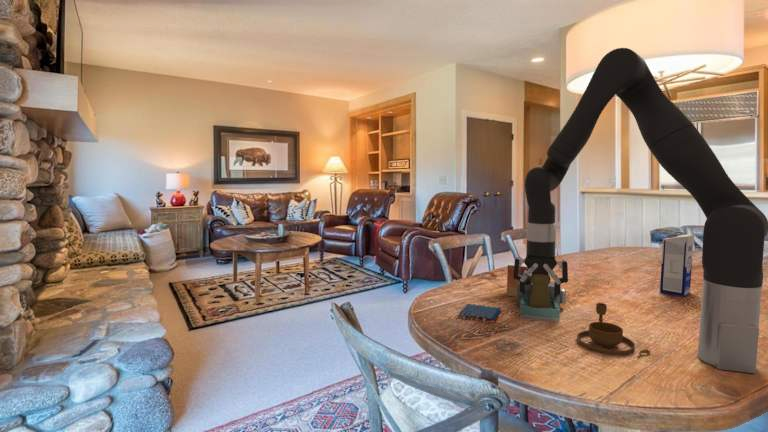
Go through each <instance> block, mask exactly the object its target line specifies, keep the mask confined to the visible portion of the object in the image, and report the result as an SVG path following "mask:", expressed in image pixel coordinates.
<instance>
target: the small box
mask: <svg viewBox="0 0 768 432" xmlns="http://www.w3.org/2000/svg"><path fill="white" fill-rule="evenodd" d="M514 264H515V261H514V262H512V261H510V262H509V263H508V264H507V273H506V274H507V275H506V296H508V297H516V298H517V279H514V278H513V276H514ZM527 268H528V267H527V266H526V264H525V263H522V265H521V266H519V270H518V275H522V274H523V273H524V272H525V270H526V269H527ZM531 274H533V273H531Z"/></svg>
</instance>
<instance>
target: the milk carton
mask: <svg viewBox="0 0 768 432" xmlns="http://www.w3.org/2000/svg"><path fill="white" fill-rule="evenodd" d="M694 237H695V234H693V233H692V234H690V233H689V234H681V235H678V233H675V232H674V233H669V234H666V238H663V239H662V248H661V249H662V251H661V266H660V267H661V268H660V281H659V282H660V285H659V293H662V294H667V295H673V296H678V297H686V296H687V295H689V294H690V293H691V286H692V285H691V284H692V283H691V282H692V281H691V280H692V269H693V267H692V266H693V254H694V241H695V240H694V239H695V238H694Z"/></svg>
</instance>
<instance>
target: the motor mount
mask: <svg viewBox="0 0 768 432" xmlns="http://www.w3.org/2000/svg"><path fill="white" fill-rule="evenodd" d="M531 275H532V274H530V276H529V277H527V278H526V280H525V295H523V294H522V292H520V281H519V280H517V297H516V307H517V308H519V309H520V310H519V315H520V316H519V317H520V318H519V319H520V320H527V321H528V320H529V321H540V322H547V323H549V322H550V323H558V324H559V323H561V320H560V318H561V305H565V304H566V302H567V291H566V288H561V286H560V295H557V297H554V283H555V281H550V283H549V285H548V290H549V300H550V308H543V307H532V306H529V302H530V296H531V291H532V285H533V283H532V282H531Z"/></svg>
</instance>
